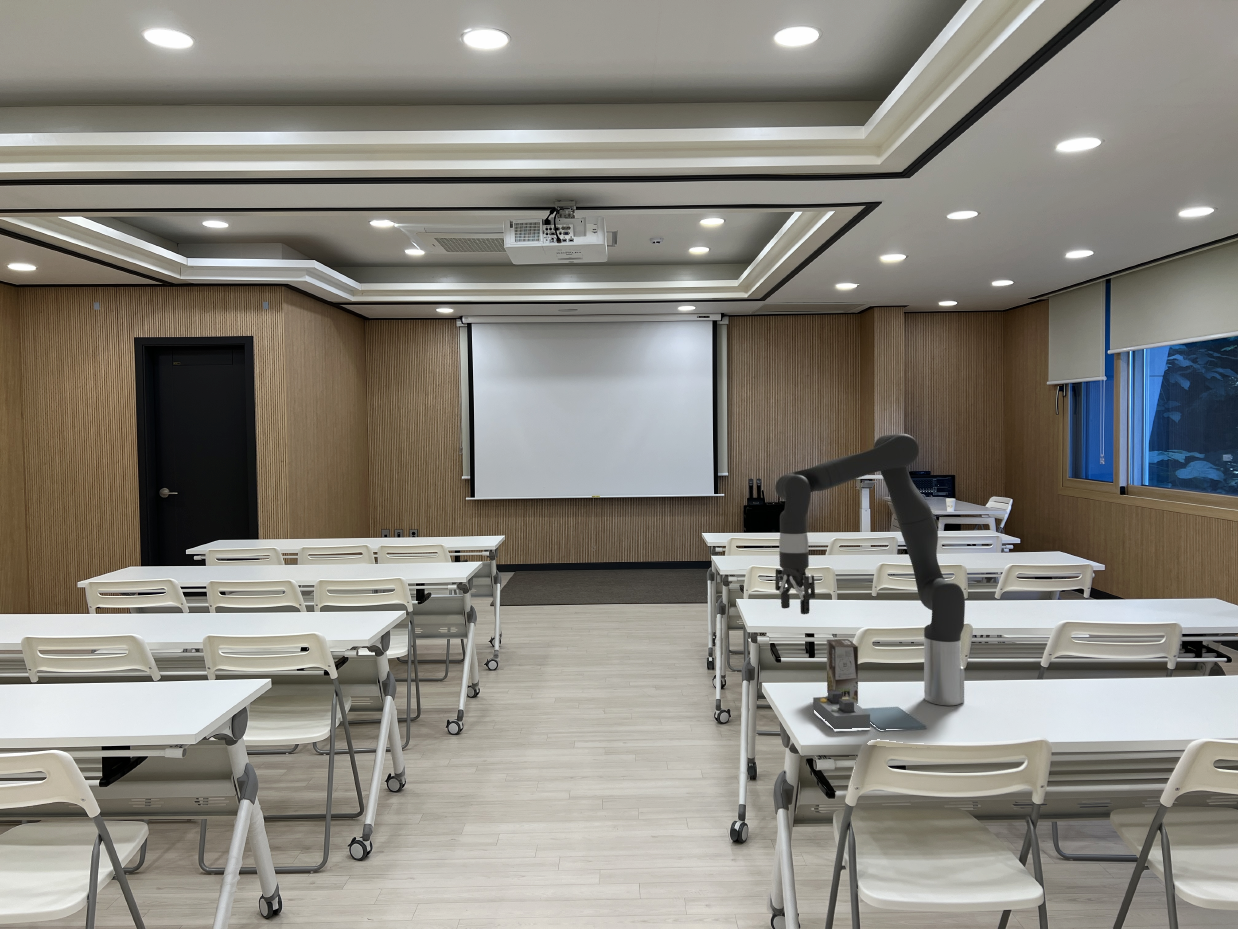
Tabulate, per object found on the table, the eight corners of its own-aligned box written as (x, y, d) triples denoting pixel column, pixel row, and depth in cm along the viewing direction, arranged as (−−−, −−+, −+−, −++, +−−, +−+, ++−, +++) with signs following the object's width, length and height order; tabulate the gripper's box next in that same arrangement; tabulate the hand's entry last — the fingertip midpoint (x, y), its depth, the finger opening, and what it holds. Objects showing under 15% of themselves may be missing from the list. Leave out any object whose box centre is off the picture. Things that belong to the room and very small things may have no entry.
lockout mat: (898, 709, 197) (898, 706, 197) (926, 728, 183) (926, 725, 183) (854, 712, 196) (854, 708, 196) (879, 731, 182) (879, 728, 182)
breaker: (839, 710, 187) (839, 699, 187) (849, 709, 187) (848, 698, 187) (844, 714, 184) (844, 702, 184) (854, 713, 184) (854, 702, 184)
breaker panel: (813, 712, 195) (813, 695, 195) (846, 711, 197) (845, 693, 196) (835, 732, 182) (835, 713, 181) (870, 730, 183) (870, 711, 183)
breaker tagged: (827, 701, 194) (827, 690, 194) (837, 700, 194) (837, 689, 194) (832, 704, 191) (832, 694, 191) (842, 704, 191) (842, 693, 191)
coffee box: (859, 706, 200) (858, 646, 200) (835, 706, 200) (834, 646, 200) (849, 695, 209) (849, 638, 209) (826, 695, 209) (826, 638, 209)
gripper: (822, 551, 191) (823, 614, 192) (789, 546, 205) (790, 604, 205) (798, 553, 189) (799, 617, 189) (766, 547, 202) (767, 607, 202)
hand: (794, 611), depth 197 cm, fingers open, 8 cm apart
